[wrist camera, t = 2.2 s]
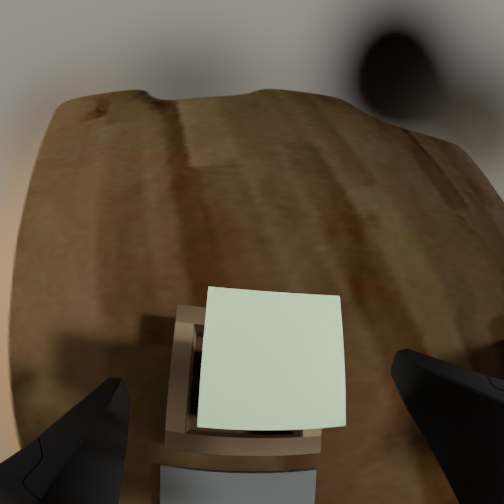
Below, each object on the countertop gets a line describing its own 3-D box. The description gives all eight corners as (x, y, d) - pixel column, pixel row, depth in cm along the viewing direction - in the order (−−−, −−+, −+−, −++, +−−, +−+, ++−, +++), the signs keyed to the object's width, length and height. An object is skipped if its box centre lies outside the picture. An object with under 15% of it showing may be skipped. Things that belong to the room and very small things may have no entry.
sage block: (274, 418, 15) (345, 425, 7) (207, 415, 15) (196, 426, 6) (276, 356, 17) (339, 295, 9) (211, 352, 17) (208, 286, 8)
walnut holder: (306, 447, 14) (320, 452, 12) (171, 443, 14) (164, 448, 11) (306, 327, 18) (319, 315, 16) (182, 318, 18) (177, 304, 16)
